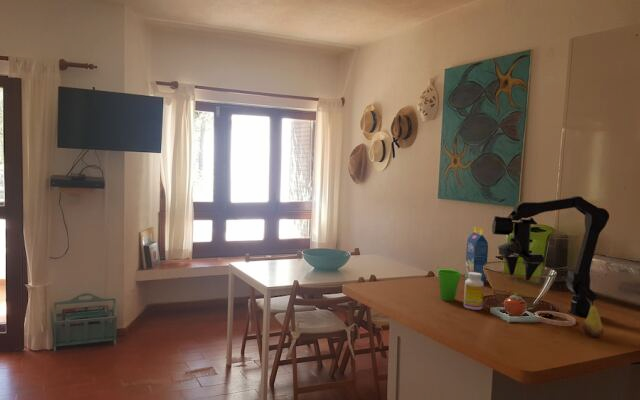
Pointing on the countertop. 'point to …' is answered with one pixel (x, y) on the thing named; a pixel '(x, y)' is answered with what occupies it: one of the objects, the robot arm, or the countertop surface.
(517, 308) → the tomato
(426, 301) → the countertop surface
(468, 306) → the supplement bottle
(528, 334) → the countertop surface
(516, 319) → the tray
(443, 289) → the cup
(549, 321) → the saucer ring
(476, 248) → the blue food package
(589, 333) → the fruit
